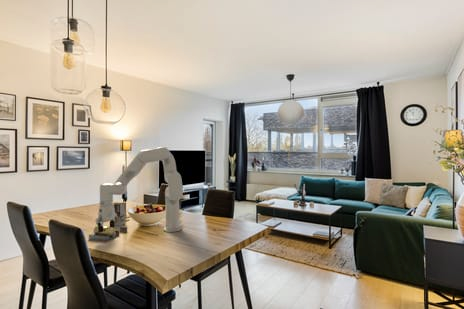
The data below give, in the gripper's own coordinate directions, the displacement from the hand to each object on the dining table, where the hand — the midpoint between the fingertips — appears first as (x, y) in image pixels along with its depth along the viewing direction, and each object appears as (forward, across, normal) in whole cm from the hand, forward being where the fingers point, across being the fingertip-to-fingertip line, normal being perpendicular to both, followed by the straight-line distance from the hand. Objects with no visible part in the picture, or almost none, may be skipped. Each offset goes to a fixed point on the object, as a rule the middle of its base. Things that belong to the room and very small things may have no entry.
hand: (106, 229), depth 164 cm
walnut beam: (+6, +11, -1) cm, 12 cm away
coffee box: (+6, +29, +15) cm, 33 cm away
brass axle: (+3, 0, +2) cm, 4 cm away
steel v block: (+6, 0, +3) cm, 7 cm away
